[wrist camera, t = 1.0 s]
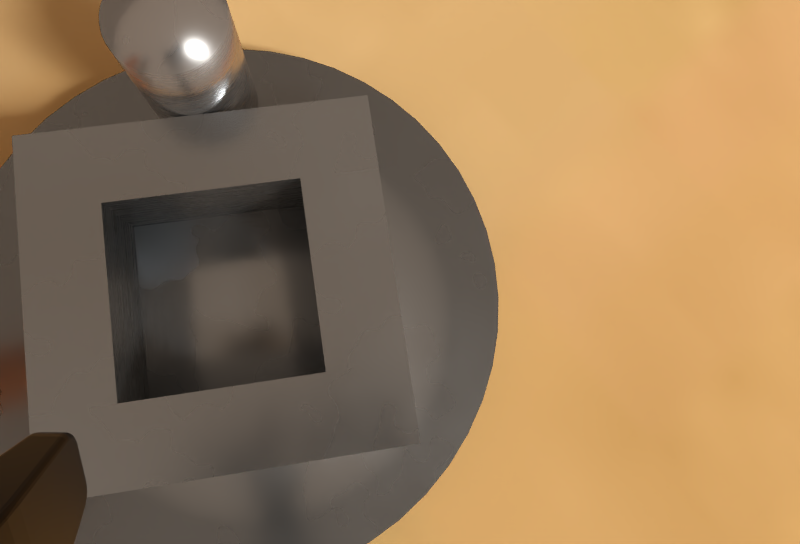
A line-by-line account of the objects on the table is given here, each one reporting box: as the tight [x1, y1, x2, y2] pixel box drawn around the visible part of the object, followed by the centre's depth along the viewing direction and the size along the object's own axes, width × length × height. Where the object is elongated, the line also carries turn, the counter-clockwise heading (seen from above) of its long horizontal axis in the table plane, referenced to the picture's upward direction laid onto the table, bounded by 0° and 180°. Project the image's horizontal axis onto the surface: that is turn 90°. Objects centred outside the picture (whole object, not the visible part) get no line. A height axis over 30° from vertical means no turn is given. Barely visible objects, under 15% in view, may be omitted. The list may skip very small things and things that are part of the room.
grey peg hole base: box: [0, 0, 498, 544], centre depth 19 cm, size 17×17×6 cm
